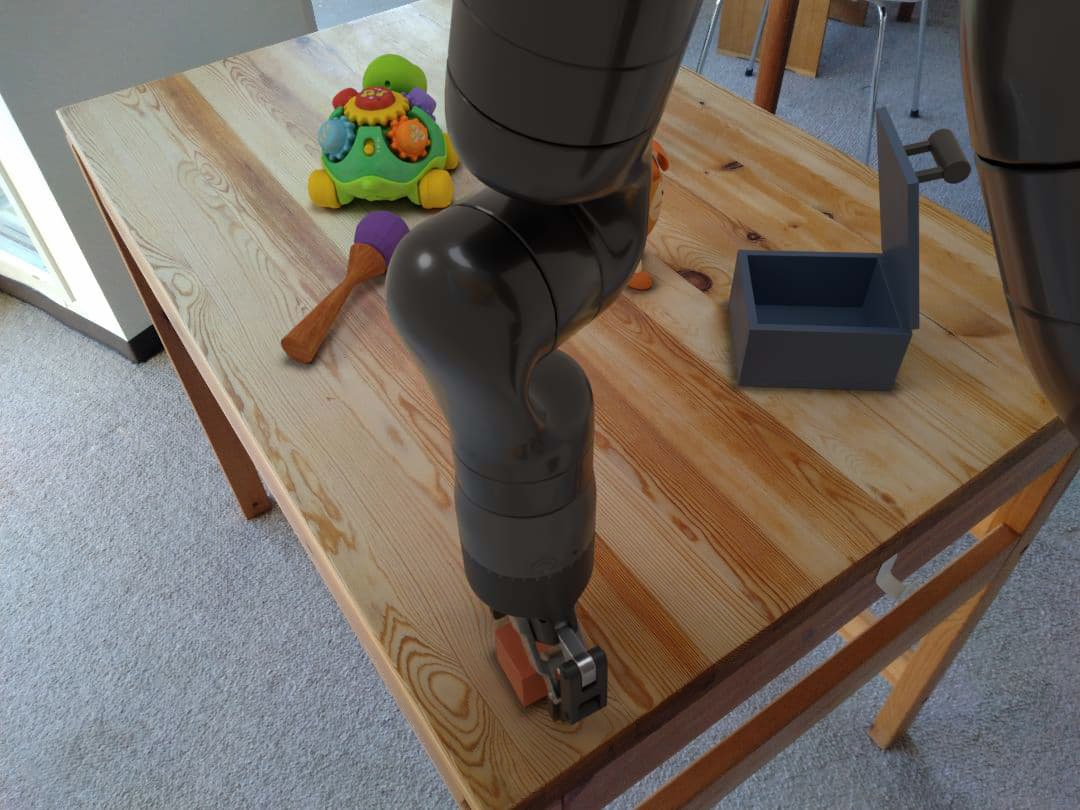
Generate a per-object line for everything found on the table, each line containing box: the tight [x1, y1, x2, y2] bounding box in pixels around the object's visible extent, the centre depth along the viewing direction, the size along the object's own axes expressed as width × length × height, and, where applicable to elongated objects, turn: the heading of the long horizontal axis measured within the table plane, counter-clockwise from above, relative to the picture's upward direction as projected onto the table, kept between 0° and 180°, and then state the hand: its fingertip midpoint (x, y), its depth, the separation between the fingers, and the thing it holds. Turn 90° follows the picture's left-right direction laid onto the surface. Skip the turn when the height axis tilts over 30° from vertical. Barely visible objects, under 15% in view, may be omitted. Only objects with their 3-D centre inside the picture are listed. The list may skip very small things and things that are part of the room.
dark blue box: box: [727, 249, 914, 392], centre depth 78 cm, size 14×12×7 cm
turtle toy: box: [307, 53, 460, 210], centre depth 100 cm, size 17×23×12 cm
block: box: [493, 622, 560, 708], centre depth 57 cm, size 4×4×4 cm
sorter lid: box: [875, 106, 972, 331], centre depth 70 cm, size 14×12×5 cm
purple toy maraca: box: [280, 210, 411, 364], centre depth 86 cm, size 6×6×20 cm
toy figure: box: [627, 138, 670, 291], centre depth 84 cm, size 12×8×15 cm
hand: (534, 658), depth 58 cm, fingers open, 8 cm apart
